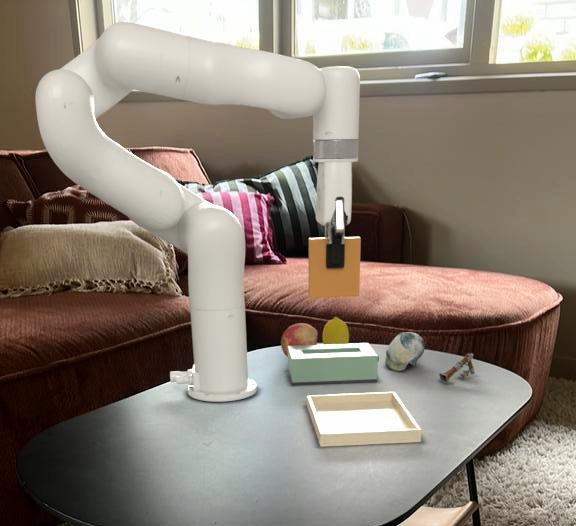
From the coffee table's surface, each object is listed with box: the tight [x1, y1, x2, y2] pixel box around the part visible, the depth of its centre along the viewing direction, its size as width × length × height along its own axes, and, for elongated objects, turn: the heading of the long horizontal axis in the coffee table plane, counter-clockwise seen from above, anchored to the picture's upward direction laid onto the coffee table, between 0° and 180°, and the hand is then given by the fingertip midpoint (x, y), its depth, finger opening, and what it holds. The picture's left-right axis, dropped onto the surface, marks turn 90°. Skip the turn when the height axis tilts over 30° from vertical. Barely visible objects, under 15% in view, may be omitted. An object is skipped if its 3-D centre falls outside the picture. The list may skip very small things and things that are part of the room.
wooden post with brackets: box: [438, 352, 475, 385], centre depth 143 cm, size 2×8×4 cm, turn 123°
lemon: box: [322, 316, 350, 345], centre depth 159 cm, size 6×6×8 cm
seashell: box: [385, 331, 426, 372], centre depth 153 cm, size 6×8×12 cm
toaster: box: [287, 342, 380, 386], centre depth 146 cm, size 17×10×5 cm, turn 95°
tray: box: [306, 391, 423, 448], centre depth 122 cm, size 15×19×2 cm
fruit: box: [280, 322, 318, 358], centre depth 154 cm, size 8×8×8 cm
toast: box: [308, 236, 362, 299], centre depth 135 cm, size 9×2×10 cm, turn 96°
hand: (334, 266), depth 135 cm, fingers closed on toast, 1 cm apart
